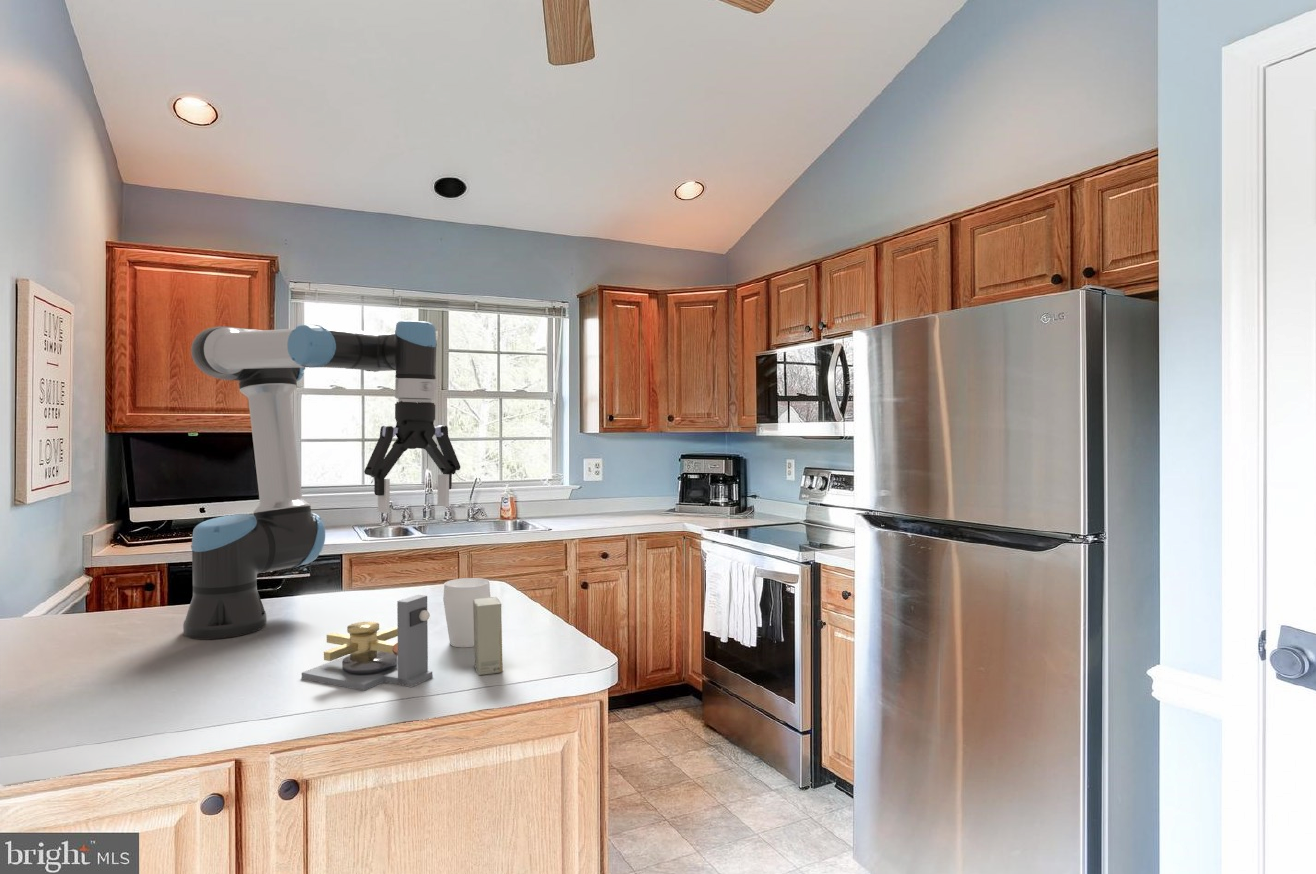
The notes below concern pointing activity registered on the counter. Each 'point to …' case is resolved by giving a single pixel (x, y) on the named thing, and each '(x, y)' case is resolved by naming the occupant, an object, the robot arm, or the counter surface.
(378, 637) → the capstan
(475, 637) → the skincare box
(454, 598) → the cup
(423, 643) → the stand
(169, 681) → the counter surface
